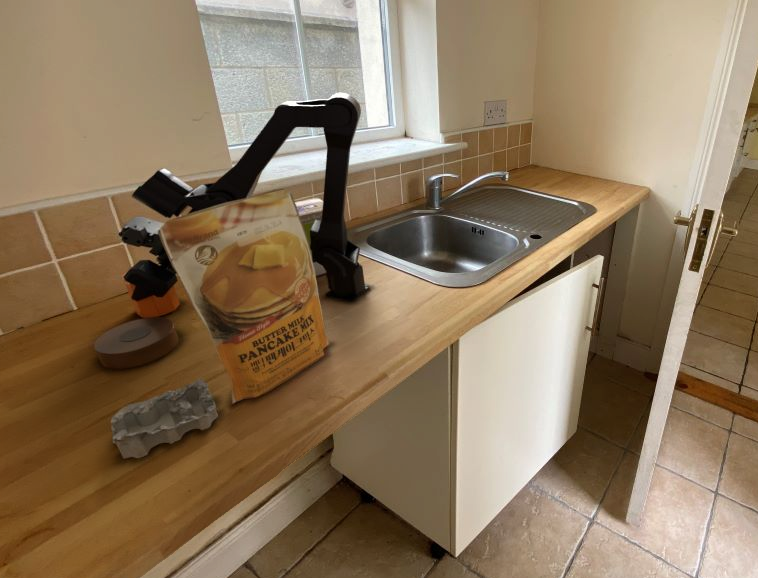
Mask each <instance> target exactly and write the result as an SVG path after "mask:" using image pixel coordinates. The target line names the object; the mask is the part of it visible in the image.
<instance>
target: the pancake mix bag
mask: <svg viewBox="0 0 758 578" xmlns="http://www.w3.org/2000/svg"><path fill="white" fill-rule="evenodd" d="M295 202H296V201H295V198H294V197H293V193H292V191H287V192H285V188H284V187H283V188H277V189H276V188H275V189H272V190H269V191H266V192H262V193H258V194H255V195H252V197H249V198H245V199H240V200H235V201H231V202H226V203H223V204H219V205H216V206H213V207H209V208H206V209H203V210H199V211H196V212H192V213H189V214H188V213H186V214H184V215H180V216H179V217H175V218H172V219H168V220H166V221H165V222H164V225H163V226H162V227H161V228H160V229H159V230H158V231H157V232H158V234H159V236H160V239H161V242H162V244H163V246H164V249H165V251H166V253H167V255H168V258H169V260H170V262H171V265H172V267H173V268H174V269H175V271H176V272H177V273H176V275H178V278H179V279H180V281H181V283H182V286H183V287H184V290H185V292H186V294H187V296H188V297H187V298H189V300H190V303H191V305H192V307H193V308H194V310H195V312H196V313H197V315H198V317H199V319H200V320H201V321H202V323H203V324H204V326H205V328H206V329H207V330H208V332H209V335H210V337H211V340H212V343H213V346H214V349H215V351H216V354H217V357H218V358H219V360H220V361H221V363H222V364H223V366H224V368H225V370H226V372H227V375H228V377H229V380H230V385H231V404H236V403H237V402H239V401H242V400H244V399H257V398H258V397H260V396H262V395H265V394H267V393H269V392H270V391H272V390H273V389H275V388H276V387H279V386H280V385H281V384H283V383H285V382H286V381H288V380H289V379H291V378H293V377H294V376H296V375H297V374H298V373H300V372H301V371H303V370H305V369H306V368H308V367H309V366H311V365H313V364H315V363H316V362H318V361H319V360H320V359H321V358H323V357H325V353H324V350H325V349H326V348H327V347H328V346H329V345H330V342H329V340H328V338H327V336H326V333H325V323H324V317H323V308H322V306H321V301H320V295H319V288H318V287H319V286H318V282H317V281H318V280H317V276H316V275H315V268H314V265H313V261H312V255H311V250H310V247H309V243H308V240H307V237H306V234H305V231H304V227H303V225H302V222H301V220H300V216H299V212H298V209H297V206H296V204H295Z"/></svg>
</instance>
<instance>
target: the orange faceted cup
mask: <svg viewBox="0 0 758 578" xmlns="http://www.w3.org/2000/svg"><path fill="white" fill-rule="evenodd" d="M157 264H158V263H157ZM158 265H161V264H158ZM167 270H168V268H167ZM128 271H129V270H127V271H126V272H125V273H124V274H123V275H122V276H121V278H122V280H123V282H124V285H125V287H126V290H127V293H128V296H129V297H130V301H131V303H132V305H133V307H134V310H135V313H136V314H137V315H138V316H139V317H141V318H142V319H144V318H153V317H162V316H165V315H167V314H169V313H172V312H174V311H176V309H178V307H179V306H180V304H181V303H180V300H179V297H178V293H177V292H176V291H177V290H176V288H175V285H174V286H173V287H172V288H171V289H170V290H169V291H168V292H167V293H166V294H165V295H164V296H163V297H156V296H154V295H153V296H150V297H148V298H145V299H142V300H140V301H135V300H133V299H131V296H132V294H133V291H134V289H135V285H133V284H131V283H129V282H127V281H125V280H124V278H123V276H124V275H125V274H126V273H127V272H128Z"/></svg>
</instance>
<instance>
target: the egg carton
mask: <svg viewBox="0 0 758 578" xmlns="http://www.w3.org/2000/svg"><path fill="white" fill-rule="evenodd" d="M218 417H219V414H218V412H217V404H216V402H215V400H214V398H213V395H212V393H211V392H210V389H209V387H208V385H207V383H206V381H205V380H204V378H203V377H200V378H198V379H196V380H194V381H193V382H191V383H188V384H186V386H184V387H178V388H177V389H176V390H171V389H170V390H169V389H168V390H166V391H165V392H163V393H162V394H159V395H156V396H153V397H151V398H149V399H147V400H144V401H143V400H142V401H139V402H134V403H130V404H127V405H125V406H123V407H121V408H120V409H119V410H118V411H117V412H116V413H115V414H114V415H113V416H112V417H111V419H110V425H111V427H110V428H111V431H112V443H113V444H114V445H116V447H118V450H119V452H120V454H121V456H122V459H123V460H124V459H128V458H135V459H140V458H144V457H145V456H147V455H148V454H149V452H150V451H151V449H153V448H154V447H156V446H157V445H160V444H164V443H165V444H166V443H167V444H174V443H175V442H178V441H179V440H181V439H182V437H183V436H184V435H185V434H186V433H187V432H190V431H192V430H197V429H199V430H200V431H204V430H207V429H209V428H210V427H211V426H212V423H213V422H214V421H215V420H216V419H218Z"/></svg>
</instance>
